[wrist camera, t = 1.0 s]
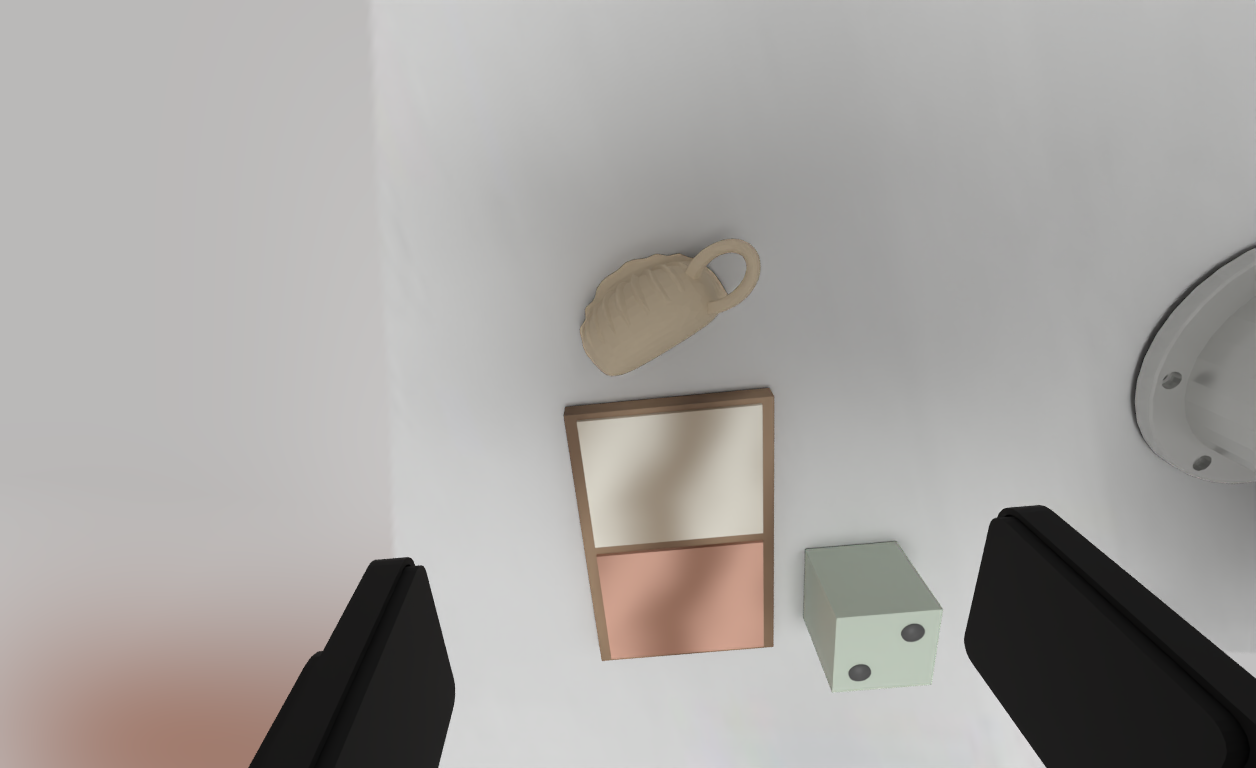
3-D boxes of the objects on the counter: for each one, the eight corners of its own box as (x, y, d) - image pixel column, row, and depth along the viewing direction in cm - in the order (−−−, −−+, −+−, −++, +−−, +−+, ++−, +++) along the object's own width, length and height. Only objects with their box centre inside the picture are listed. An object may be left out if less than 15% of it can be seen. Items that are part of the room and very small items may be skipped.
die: (896, 541, 32) (943, 610, 27) (889, 610, 34) (932, 686, 29) (805, 549, 32) (837, 619, 27) (803, 617, 34) (832, 694, 29)
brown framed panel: (768, 387, 28) (775, 397, 27) (769, 633, 34) (774, 649, 33) (565, 406, 28) (563, 417, 27) (602, 646, 35) (601, 663, 34)
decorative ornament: (557, 305, 26) (543, 343, 22) (719, 207, 25) (744, 224, 20) (604, 375, 28) (601, 426, 23) (760, 287, 26) (792, 321, 21)
